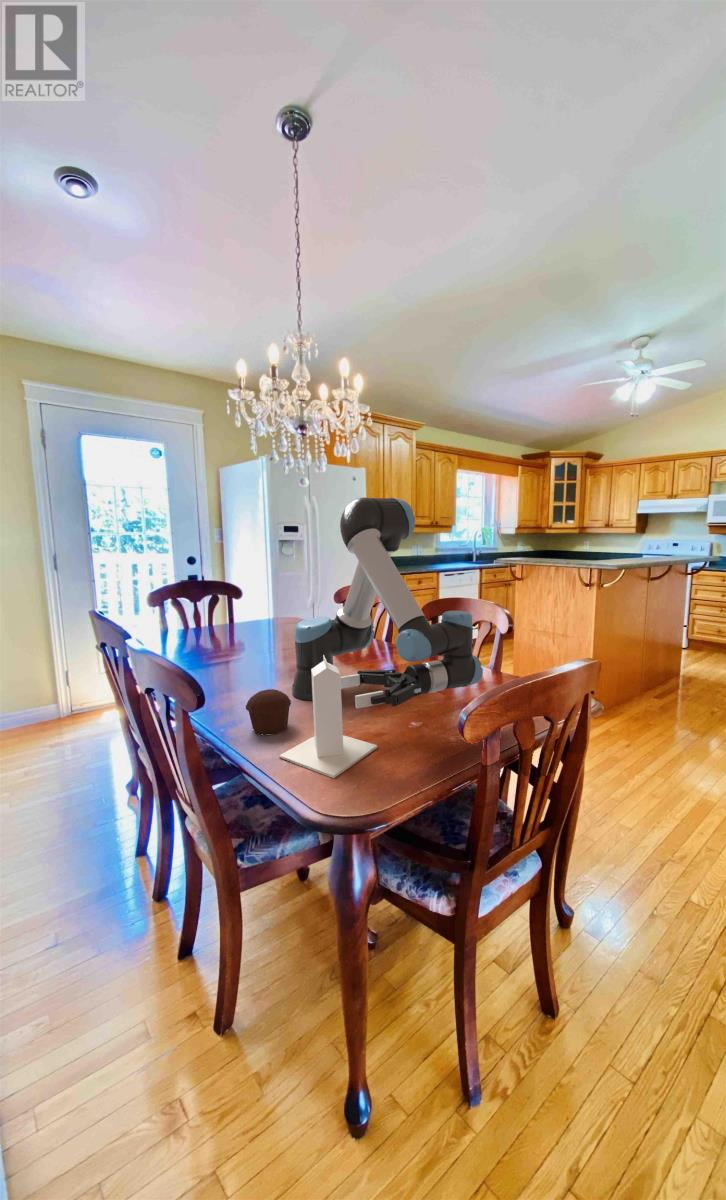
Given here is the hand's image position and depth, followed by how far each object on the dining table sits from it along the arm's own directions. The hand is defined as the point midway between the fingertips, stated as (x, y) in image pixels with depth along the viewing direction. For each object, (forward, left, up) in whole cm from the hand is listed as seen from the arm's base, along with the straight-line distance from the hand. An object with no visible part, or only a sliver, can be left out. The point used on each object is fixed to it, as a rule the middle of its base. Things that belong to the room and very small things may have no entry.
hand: (344, 692), depth 105 cm
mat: (+3, -2, -14) cm, 15 cm away
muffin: (+1, -24, -14) cm, 28 cm away
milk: (+3, -2, -13) cm, 14 cm away
